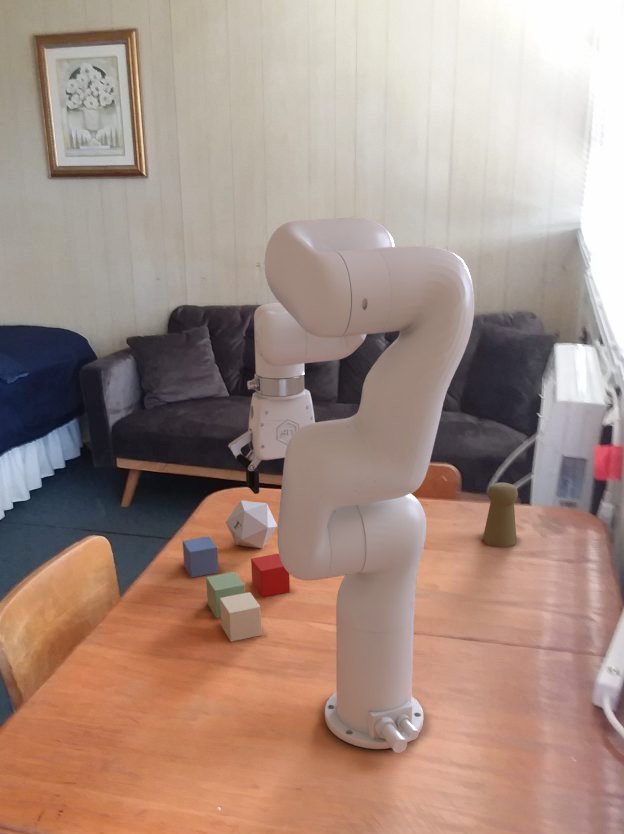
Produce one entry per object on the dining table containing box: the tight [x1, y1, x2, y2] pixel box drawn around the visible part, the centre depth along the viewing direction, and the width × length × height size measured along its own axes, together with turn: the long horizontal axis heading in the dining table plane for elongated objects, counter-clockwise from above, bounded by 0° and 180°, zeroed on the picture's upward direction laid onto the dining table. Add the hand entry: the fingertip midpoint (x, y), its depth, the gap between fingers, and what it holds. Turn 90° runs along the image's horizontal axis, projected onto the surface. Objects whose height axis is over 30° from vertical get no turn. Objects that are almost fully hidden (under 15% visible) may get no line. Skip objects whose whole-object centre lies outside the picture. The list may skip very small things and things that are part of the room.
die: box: [225, 499, 278, 549], centre depth 158 cm, size 8×9×10 cm
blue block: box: [182, 535, 219, 578], centre depth 150 cm, size 5×5×5 cm
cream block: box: [220, 591, 263, 643], centre depth 129 cm, size 5×5×5 cm
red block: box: [250, 553, 291, 598], centre depth 142 cm, size 5×5×5 cm
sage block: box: [205, 571, 246, 619], centre depth 136 cm, size 5×5×5 cm
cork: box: [482, 482, 519, 548], centre depth 155 cm, size 6×6×11 cm
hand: (282, 486), depth 136 cm, fingers open, 9 cm apart
